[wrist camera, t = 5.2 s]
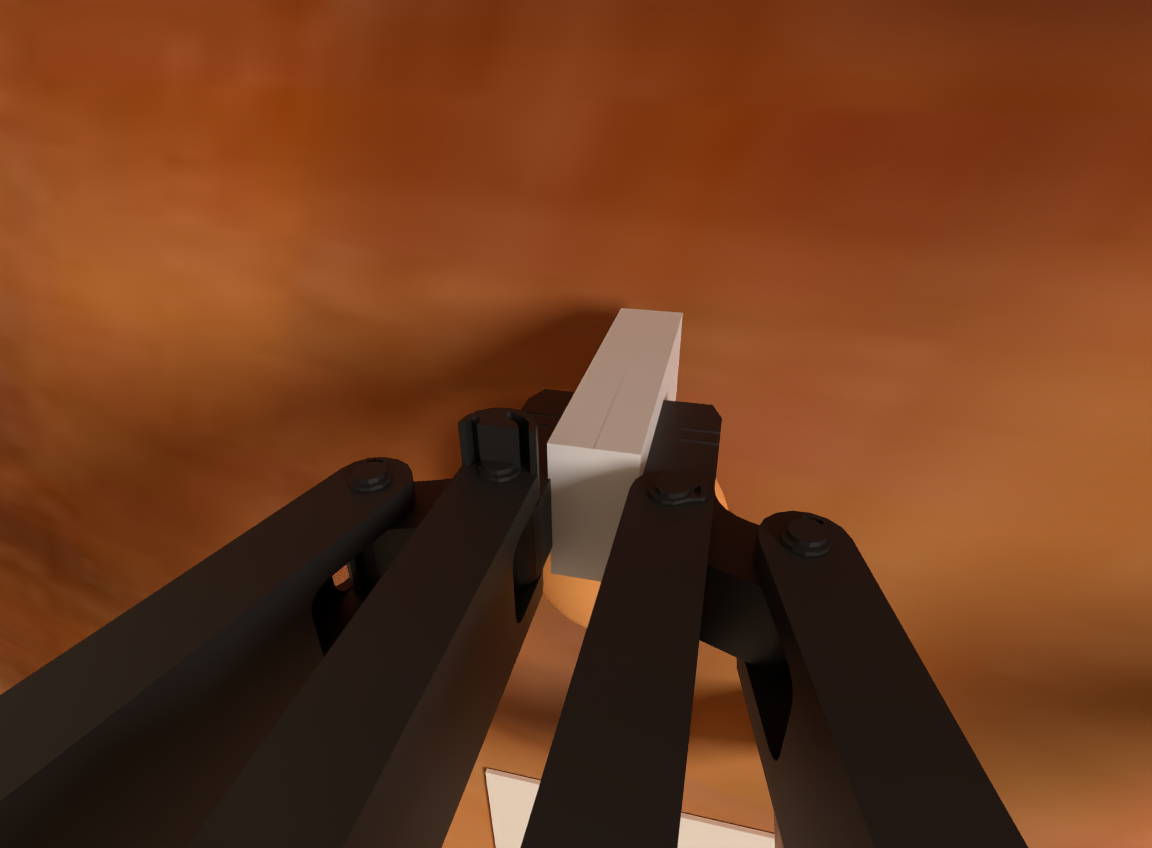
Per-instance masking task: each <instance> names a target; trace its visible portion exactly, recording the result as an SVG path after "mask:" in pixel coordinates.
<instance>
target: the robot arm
mask: <svg viewBox="0 0 1152 848" xmlns="http://www.w3.org/2000/svg"><path fill="white" fill-rule="evenodd" d="M682 316H683V313H678V312H665V311H652V310H639V309H626V308H621V309H620V311H619V313H618V315H617V316H616V318H615V320H614V322H613V324H612V326H611V327H610V329H609V331H608V333H607V335H606V337H605V338H604V340H603V342H602V344H601V346H600V347H599V349H598V351H597V353H596V355H595V357H594V358H593V360H592V362H591V364H590V366H589V368H588V369H587V371H586V373H585V375H584V377H583V378H582V380H581V382H580V384H579V386H578V388H577V389H576V391H575V392H567V391H557V390H548V389H545V390H543V391H541V392H539V393H538V394H536V395H534V396H533V397H531V398H529V399H528V400H527V402H526V403H525V405H524V406H523V408H522V409H521V410H516V409H512V408H490V409H484V410H479V411H476V412H474V413H471V414H469V415H467V416H465V417H464V418H463V419H461V420H460V421H459V422H458V428H459V437H460V446H461V455H462V466H461V468H460V469H459V471H458V472H457V473H456V475H455V476H454V477H453V478H452V479H444V480H433V481H417V482H414V481H413V475H412V471H411V469H410V468H409V466H408V464H406V463H404V462H402V461H400V460H398V459H392V458H386V457H377V458H376V457H374V458H367V459H365V460H361V461H357V462H354V463H352V464H350V465H348V466H346V467H344V468H342V469H340V470H338V471H337V472H335V473H334V474H332V475H331V476H329V477H328V478H326V479H325V480H323V481H322V482H320V483H319V484H317V485H316V486H314V487H313V488H311V489H310V490H308V491H307V492H305V493H304V494H302V495H301V496H299V497H298V498H296V499H295V500H293V501H292V502H290V503H289V504H287V505H286V506H284V507H283V508H281V509H280V510H278V511H277V512H275V513H274V514H272V515H271V516H269V517H268V518H266V519H265V520H263V521H262V522H260V523H259V524H257V525H256V526H254V527H253V528H251V529H250V530H248V531H247V532H245V533H244V534H242V535H241V536H239V537H238V538H236V539H235V540H233V541H232V542H230V543H229V544H227V545H226V546H224V547H223V548H221V549H220V550H218V551H217V552H215V553H214V554H212V555H211V556H209V557H208V558H206V559H204V560H203V561H201V562H200V563H198V564H197V565H195V566H194V567H192V568H191V569H189V570H188V571H186V572H185V573H183V574H182V575H180V576H179V577H177V578H176V579H174V580H173V581H171V582H170V583H168V584H167V585H165V586H164V587H162V588H161V589H159V590H158V591H156V592H155V593H153V594H152V595H150V596H149V597H147V598H146V599H144V600H143V601H141V602H140V603H138V604H137V605H135V606H134V607H132V608H131V609H129V610H128V611H126V612H125V613H123V614H122V615H120V616H119V617H117V618H116V619H114V620H113V621H111V622H110V623H108V624H107V625H105V626H104V627H102V628H101V629H99V630H98V631H96V632H95V633H93V634H92V635H90V636H89V637H87V638H86V639H84V640H83V641H81V642H80V643H78V644H77V645H75V646H74V647H72V648H70V649H69V650H67V651H66V652H64V653H63V654H61V655H60V656H58V657H57V658H55V659H54V660H52V661H51V662H49V663H48V664H46V665H45V666H43V667H42V668H40V669H39V670H37V671H36V672H34V673H33V674H31V675H30V676H28V677H27V678H25V679H24V680H22V681H21V682H19V683H18V684H16V685H15V686H13V687H12V688H10V689H9V690H7V691H6V692H4V693H3V694H1V695H0V848H441V847H442V845H443V842H444V840H445V837H446V835H447V832H448V830H449V827H450V825H451V822H452V820H453V817H454V815H455V812H456V810H457V807H458V805H459V802H460V800H461V797H462V795H463V792H464V790H465V787H466V785H467V782H468V780H469V777H470V775H471V772H472V770H473V767H474V765H475V762H476V760H477V757H478V755H479V752H480V750H481V747H482V745H483V742H484V740H485V737H486V734H487V732H488V729H489V727H490V724H491V722H492V719H493V717H494V714H495V712H496V709H497V707H498V704H499V702H500V699H501V697H502V694H503V692H504V689H505V687H506V684H507V682H508V679H509V677H510V674H511V672H512V669H513V667H514V664H515V662H516V659H517V657H518V654H519V652H520V649H521V647H522V644H523V642H524V639H525V637H526V634H527V632H528V629H529V627H530V624H531V622H532V619H533V617H534V614H535V612H536V609H537V607H538V604H539V602H540V599H541V596H542V594H543V585H544V581H543V568H544V565H545V563H546V560H547V558H548V556H549V553H550V556H551V573H552V574H558V575H564V576H570V577H576V578H582V579H588V580H594V581H600V582H601V584H600V587H599V591H598V594H597V597H596V601H595V604H594V607H593V610H592V614H591V617H590V620H589V624H588V627H587V630H586V633H585V637H584V640H583V643H582V647H581V650H580V653H579V656H578V660H577V663H576V666H575V670H574V673H573V676H572V679H571V683H570V686H569V689H568V693H567V696H566V699H565V702H564V706H563V709H562V712H561V716H560V719H559V722H558V725H557V729H556V732H555V735H554V739H553V742H552V745H551V748H550V752H549V755H548V758H547V762H546V765H545V768H544V771H543V775H542V778H541V781H540V785H539V788H538V791H537V795H536V798H535V801H534V804H533V808H532V811H531V814H530V818H529V821H528V824H527V827H526V831H525V834H524V837H523V841H522V844H521V847H520V848H677V847H678V838H679V828H680V819H681V809H682V800H683V790H684V781H685V771H686V762H687V752H688V743H689V733H690V724H691V714H692V705H693V695H694V686H695V676H696V667H697V657H698V648H699V640H701V641H703V642H705V643H707V644H709V645H711V646H713V647H716V648H718V649H720V650H722V651H724V652H726V653H728V654H731V655H733V656H735V657H737V670H738V674H739V678H740V682H741V685H742V689H743V693H744V697H745V701H746V705H747V708H748V712H749V716H750V720H751V724H752V728H753V732H754V735H755V739H756V743H757V747H758V751H759V755H760V758H761V762H762V766H763V770H764V774H765V778H766V782H767V785H768V789H769V793H770V797H771V801H772V805H773V808H774V812H775V816H776V820H777V824H778V828H779V831H780V835H781V839H782V843H783V847H784V848H1028V846H1027V845H1026V843H1025V841H1024V839H1023V838H1022V836H1021V834H1020V832H1019V831H1018V829H1017V827H1016V825H1015V824H1014V822H1013V820H1012V818H1011V817H1010V815H1009V813H1008V811H1007V810H1006V808H1005V806H1004V804H1003V803H1002V801H1001V799H1000V797H999V796H998V794H997V792H996V790H995V789H994V787H993V785H992V783H991V782H990V780H989V778H988V776H987V775H986V773H985V771H984V769H983V768H982V766H981V764H980V762H979V760H978V759H977V757H976V755H975V753H974V752H973V750H972V748H971V746H970V745H969V743H968V741H967V739H966V738H965V736H964V734H963V732H962V731H961V729H960V727H959V725H958V724H957V722H956V720H955V718H954V717H953V715H952V713H951V711H950V710H949V708H948V706H947V704H946V703H945V701H944V699H943V697H942V696H941V694H940V692H939V690H938V689H937V687H936V685H935V683H934V682H933V680H932V678H931V676H930V675H929V673H928V671H927V669H926V668H925V666H924V664H923V662H922V661H921V659H920V657H919V655H918V653H917V652H916V650H915V648H914V646H913V645H912V643H911V641H910V639H909V638H908V636H907V634H906V632H905V631H904V629H903V627H902V625H901V624H900V622H899V620H898V618H897V617H896V615H895V613H894V611H893V610H892V608H891V606H890V604H889V603H888V601H887V599H886V597H885V596H884V594H883V592H882V590H881V589H880V587H879V585H878V583H877V582H876V580H875V578H874V576H873V575H872V573H871V571H870V569H869V568H868V566H867V564H866V562H865V561H864V559H863V557H862V555H861V554H860V552H859V550H858V548H857V547H856V545H855V543H854V541H853V539H852V538H851V537H850V536H849V535H848V534H847V533H846V531H845V530H844V529H843V528H842V527H840V526H838V525H837V524H835V523H834V522H832V521H830V520H829V519H827V518H824V517H821V516H818V515H815V514H812V513H806V512H798V511H787V512H780V513H775V514H773V515H771V516H769V517H767V518H765V519H764V520H763V521H762V523H761V524H760V525H757V524H754V523H752V522H749V521H746V520H744V519H742V518H740V517H737V516H736V515H734V514H733V513H731V512H730V511H728V510H727V509H726V508H725V507H724V506H723V505H722V504H721V503H720V502H719V500H718V498H717V497H716V494H715V480H716V470H717V461H718V451H719V441H720V431H721V421H722V418H721V416H720V415H719V414H718V412H717V411H716V409H715V408H714V406H713V405H707V404H697V403H688V402H678V401H676V391H677V378H678V366H679V353H680V341H681V328H682ZM346 564H347V568H348V572H349V578H348V579H347V580H346V581H345V582H343V583H342V584H340V585H338V586H335V585H334V582H333V578H332V575H334V574H335V573H336V572H337V571H339V570H340V569H341V568H342V567H343V566H345V565H346Z"/></svg>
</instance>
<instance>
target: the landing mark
mask: <svg viewBox="0 0 1152 848" xmlns="http://www.w3.org/2000/svg"><path fill="white" fill-rule="evenodd" d="M485 773H486V780H487V788H488V795H489V802H490V809H491V816H492V824H493V831H494V838H495V845H496V848H520V847H521V844H522V841H523V837H524V834H525V831H526V827H527V824H528V821H529V818H530V814H531V811H532V808H533V804H534V801H535V798H536V795H537V791H538V788H539V785H540V781H541V780H536V779H532V778H528V777H523V776H519V775H514V774H510V773H506V772H501V771H497V770H493V769H488V768H487V769H486V772H485ZM677 848H775V834H772V833H768V832H764V831H759V830H755V829H751V828H746V827H742V826H737V825H733V824H729V823H724V822H720V821H716V820H711V819H707V818H702V817H698V816H694V815H689V814H685V813H681V819H680V828H679V838H678V847H677Z"/></svg>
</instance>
